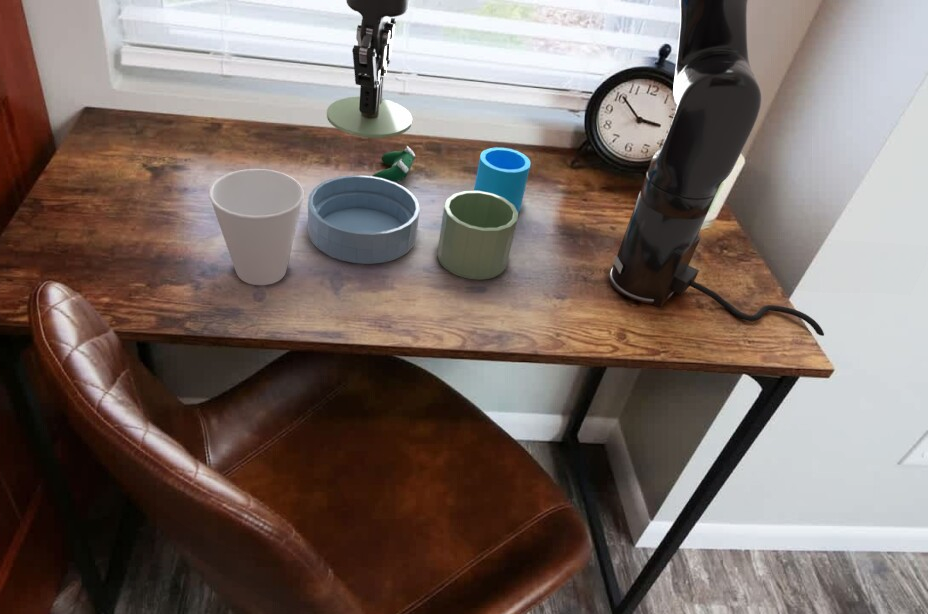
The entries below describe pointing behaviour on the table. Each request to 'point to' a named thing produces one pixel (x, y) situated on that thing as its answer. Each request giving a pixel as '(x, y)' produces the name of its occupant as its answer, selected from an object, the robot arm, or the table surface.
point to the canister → (476, 234)
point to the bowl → (362, 219)
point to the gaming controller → (396, 165)
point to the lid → (369, 118)
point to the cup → (258, 221)
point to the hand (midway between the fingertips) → (370, 107)
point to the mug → (503, 174)
